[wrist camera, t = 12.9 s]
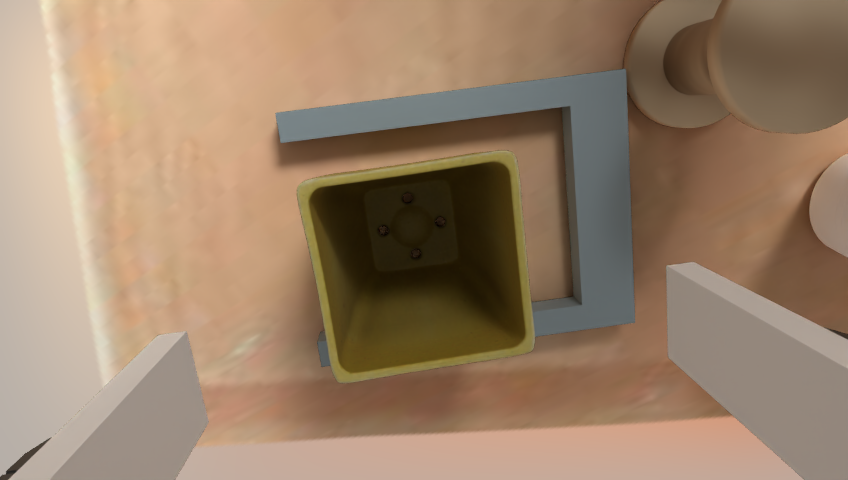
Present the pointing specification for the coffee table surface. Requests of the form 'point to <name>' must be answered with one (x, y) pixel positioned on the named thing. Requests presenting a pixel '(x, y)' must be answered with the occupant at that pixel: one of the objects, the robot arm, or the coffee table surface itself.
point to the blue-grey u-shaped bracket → (585, 177)
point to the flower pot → (420, 265)
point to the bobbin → (741, 63)
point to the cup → (832, 206)
